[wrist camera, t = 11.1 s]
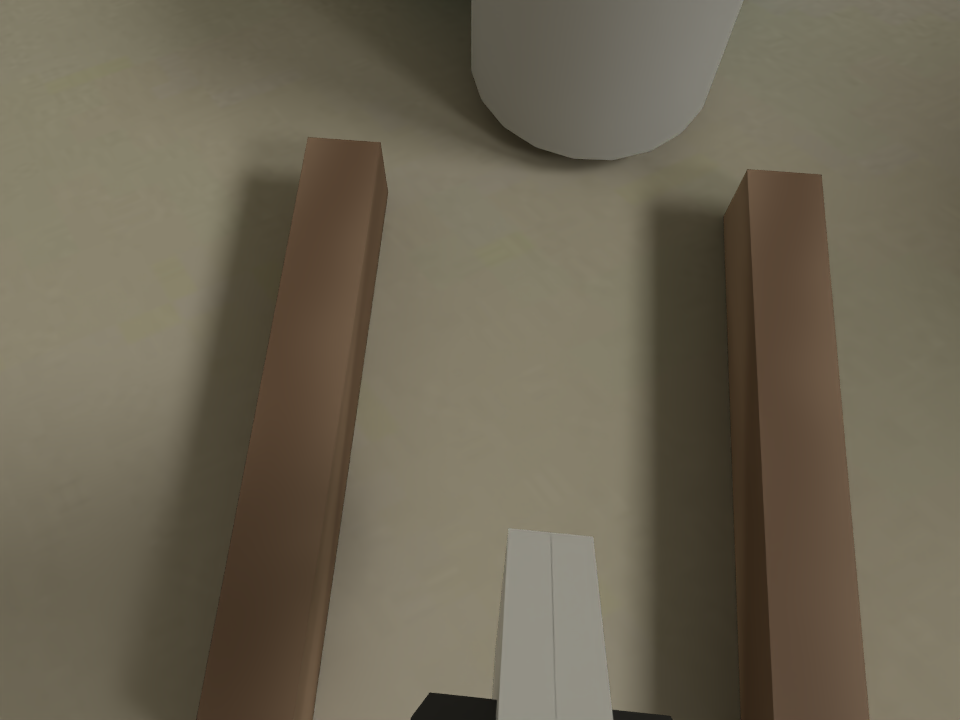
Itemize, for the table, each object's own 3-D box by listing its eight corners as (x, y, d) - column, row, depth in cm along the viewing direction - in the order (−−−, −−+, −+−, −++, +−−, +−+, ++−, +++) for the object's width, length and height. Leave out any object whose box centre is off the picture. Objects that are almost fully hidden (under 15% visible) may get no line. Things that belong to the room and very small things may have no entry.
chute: (790, 221, 26) (821, 174, 23) (833, 832, 19) (880, 846, 17) (321, 187, 26) (307, 136, 24) (215, 778, 20) (183, 784, 17)
